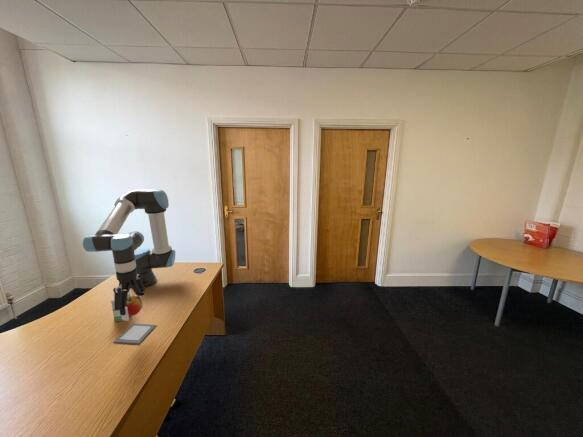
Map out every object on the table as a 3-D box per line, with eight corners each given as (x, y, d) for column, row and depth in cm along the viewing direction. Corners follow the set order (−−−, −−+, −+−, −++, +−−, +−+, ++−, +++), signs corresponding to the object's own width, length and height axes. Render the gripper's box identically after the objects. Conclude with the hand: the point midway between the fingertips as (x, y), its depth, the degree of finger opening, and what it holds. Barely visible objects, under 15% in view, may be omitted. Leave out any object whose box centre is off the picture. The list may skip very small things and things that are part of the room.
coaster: (133, 324, 113) (133, 323, 113) (156, 325, 112) (156, 324, 112) (113, 342, 101) (113, 341, 101) (139, 344, 101) (139, 343, 100)
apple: (146, 307, 109) (143, 289, 107) (139, 318, 101) (136, 299, 99) (127, 309, 107) (124, 291, 105) (118, 320, 100) (115, 301, 97)
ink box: (124, 320, 115) (121, 300, 113) (113, 321, 115) (110, 301, 112) (133, 310, 124) (130, 291, 121) (123, 310, 123) (120, 291, 120)
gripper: (135, 259, 109) (141, 300, 115) (96, 280, 89) (106, 329, 94) (150, 260, 109) (155, 300, 114) (114, 281, 89) (123, 330, 94)
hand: (133, 313), depth 104 cm, fingers closed on apple, 8 cm apart
